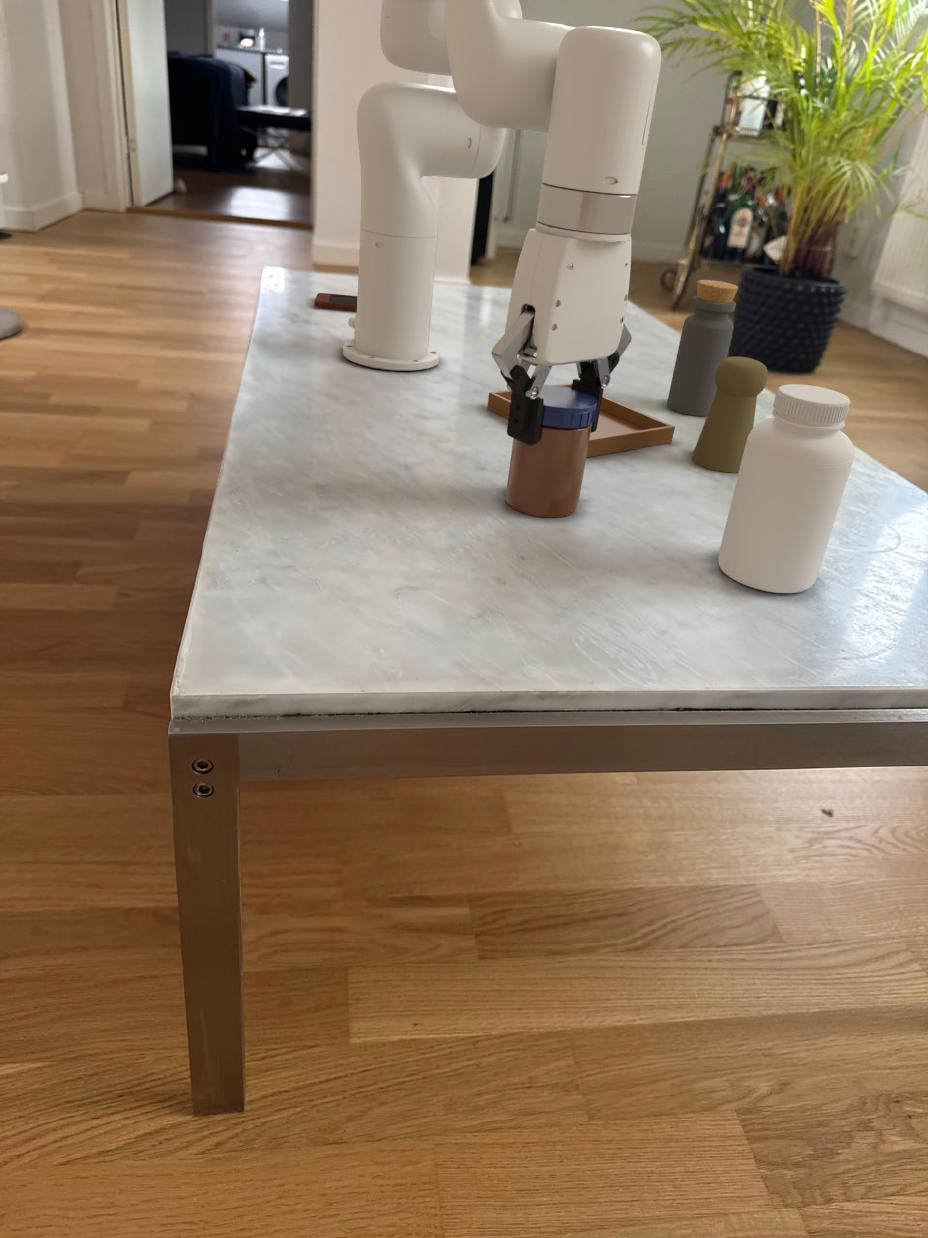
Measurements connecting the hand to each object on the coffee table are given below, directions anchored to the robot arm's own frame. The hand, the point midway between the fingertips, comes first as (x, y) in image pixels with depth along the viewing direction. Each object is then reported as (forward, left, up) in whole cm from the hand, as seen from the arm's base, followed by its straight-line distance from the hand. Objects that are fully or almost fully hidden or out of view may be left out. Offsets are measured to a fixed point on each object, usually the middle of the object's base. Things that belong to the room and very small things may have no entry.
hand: (552, 432), depth 82 cm
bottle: (-16, +38, -7) cm, 42 cm away
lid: (0, 0, +3) cm, 3 cm away
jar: (0, 0, -7) cm, 7 cm away
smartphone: (-73, +25, -7) cm, 77 cm away
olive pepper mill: (-1, +26, -7) cm, 27 cm away
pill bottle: (+19, +8, -7) cm, 22 cm away
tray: (-16, +19, -7) cm, 26 cm away
